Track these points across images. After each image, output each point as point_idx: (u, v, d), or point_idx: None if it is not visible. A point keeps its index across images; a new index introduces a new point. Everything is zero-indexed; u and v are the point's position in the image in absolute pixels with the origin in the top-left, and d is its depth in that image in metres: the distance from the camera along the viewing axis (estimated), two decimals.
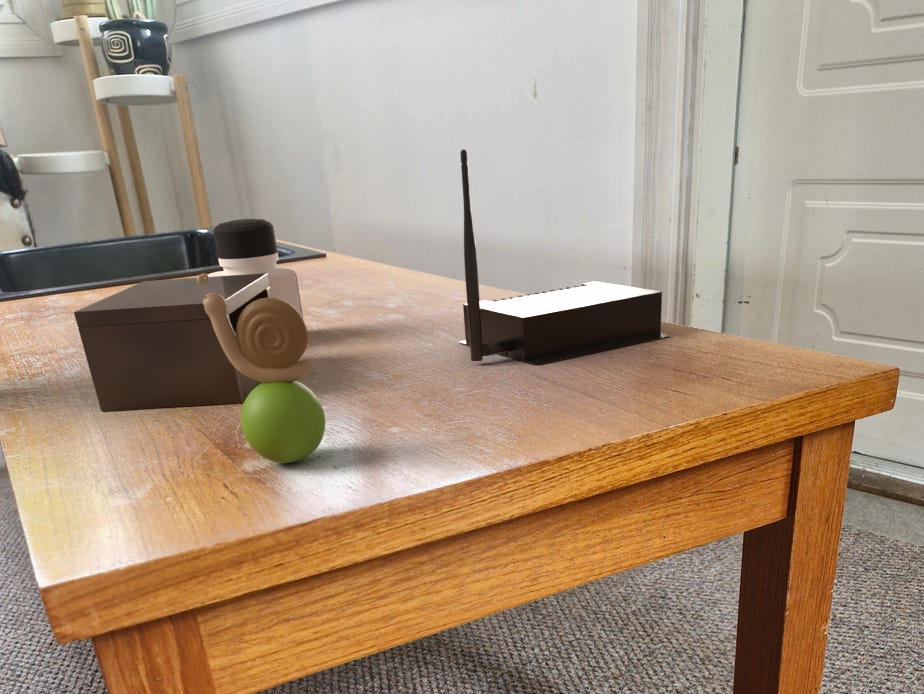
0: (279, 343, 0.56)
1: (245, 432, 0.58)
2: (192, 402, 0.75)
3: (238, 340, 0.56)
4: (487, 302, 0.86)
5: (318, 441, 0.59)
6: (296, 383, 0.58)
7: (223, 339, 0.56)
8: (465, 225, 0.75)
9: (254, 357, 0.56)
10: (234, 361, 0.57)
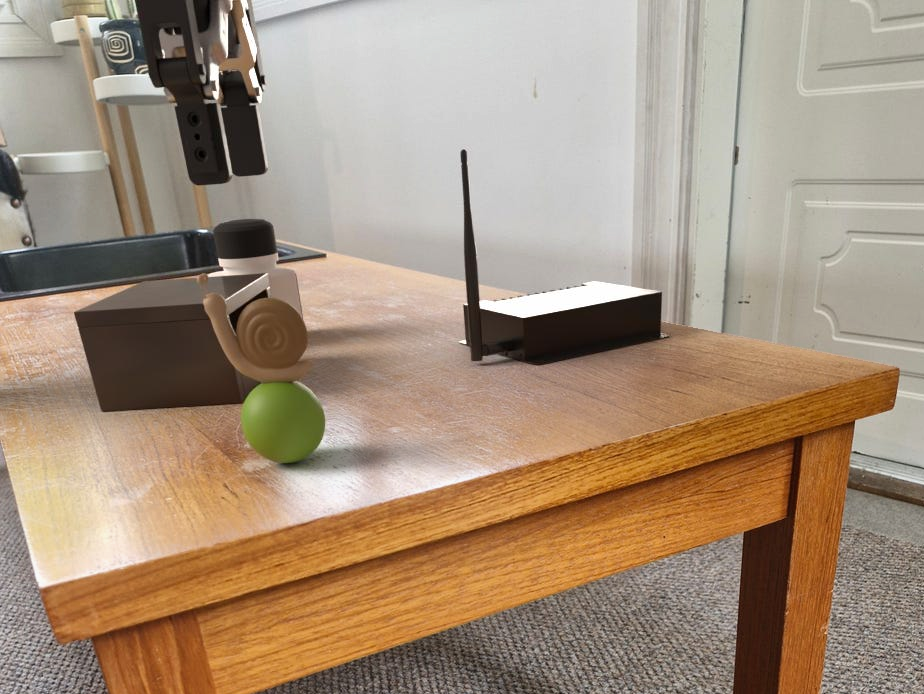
0: (279, 343, 0.56)
1: (245, 432, 0.58)
2: (192, 402, 0.75)
3: (238, 340, 0.56)
4: (487, 302, 0.86)
5: (318, 441, 0.59)
6: (296, 383, 0.58)
7: (223, 339, 0.56)
8: (465, 225, 0.75)
9: (254, 357, 0.56)
10: (234, 361, 0.57)
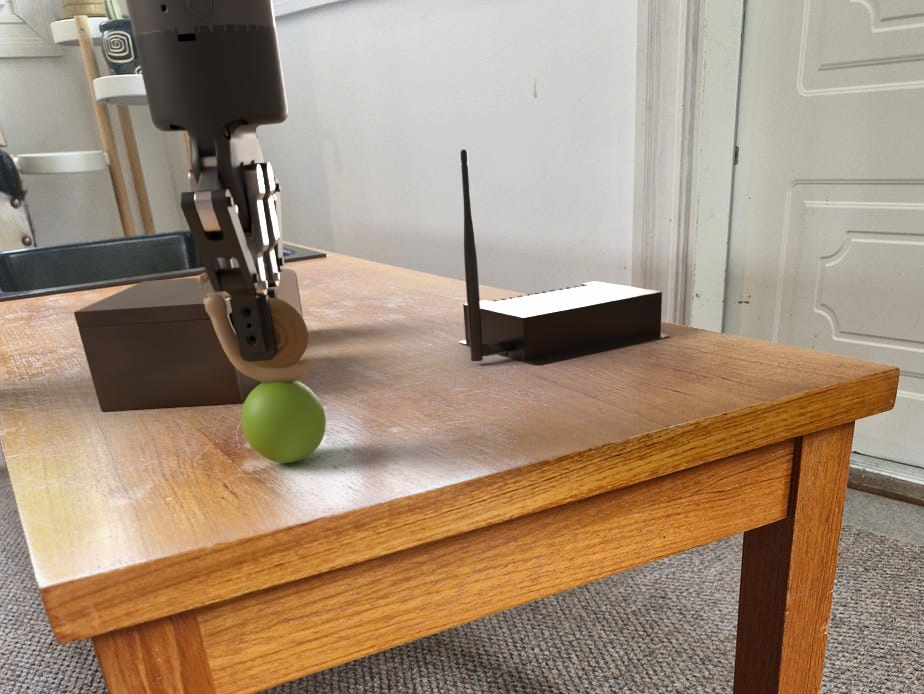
0: (279, 343, 0.56)
1: (245, 432, 0.58)
2: (192, 402, 0.75)
3: None
4: (487, 302, 0.86)
5: (318, 441, 0.59)
6: (296, 383, 0.58)
7: (224, 339, 0.56)
8: (465, 225, 0.75)
9: None
10: (235, 361, 0.57)
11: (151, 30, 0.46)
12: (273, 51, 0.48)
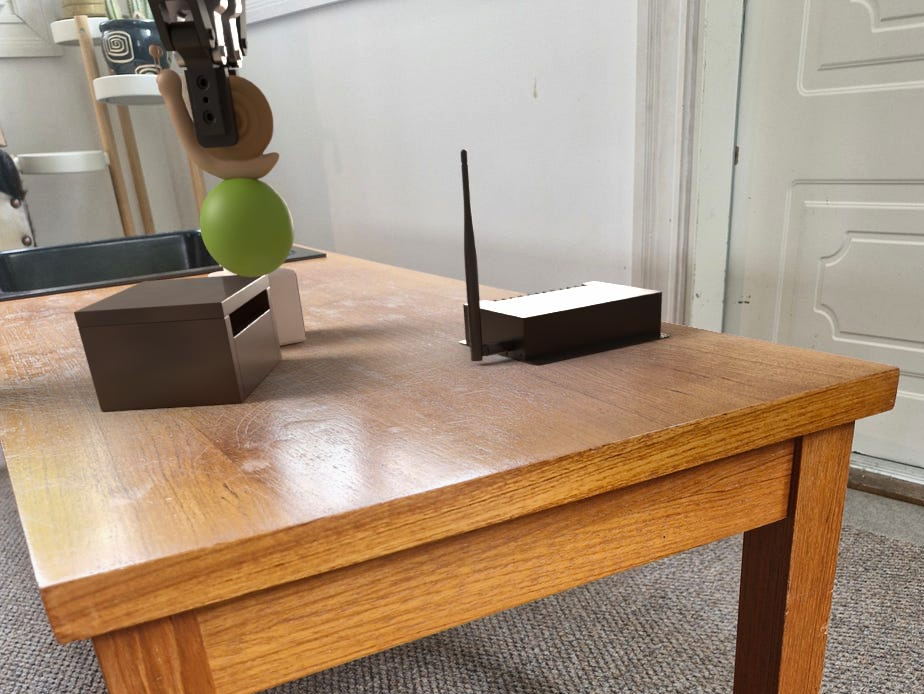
0: (241, 128, 0.50)
1: (204, 235, 0.52)
2: (192, 402, 0.75)
3: None
4: (487, 302, 0.86)
5: (286, 250, 0.53)
6: (261, 181, 0.52)
7: (179, 124, 0.50)
8: (465, 225, 0.75)
9: None
10: (192, 151, 0.51)
11: None
12: None
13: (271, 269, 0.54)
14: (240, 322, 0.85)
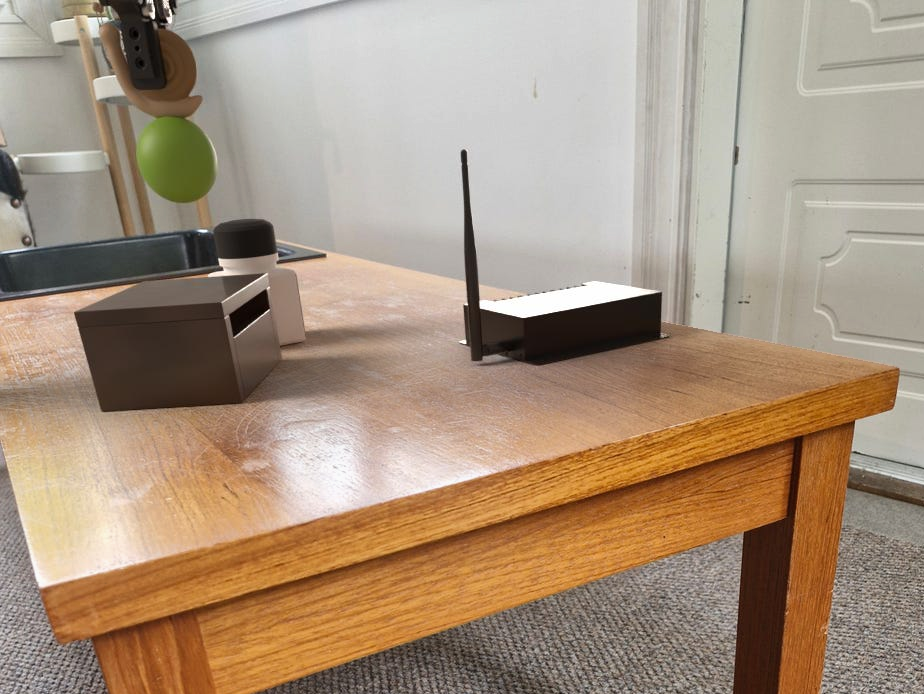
0: (169, 73, 0.60)
1: (139, 164, 0.62)
2: (192, 402, 0.75)
3: None
4: (487, 302, 0.86)
5: (209, 179, 0.63)
6: (188, 120, 0.62)
7: (118, 69, 0.60)
8: (465, 225, 0.75)
9: None
10: (129, 93, 0.61)
11: None
12: None
13: (197, 196, 0.63)
14: (240, 322, 0.85)
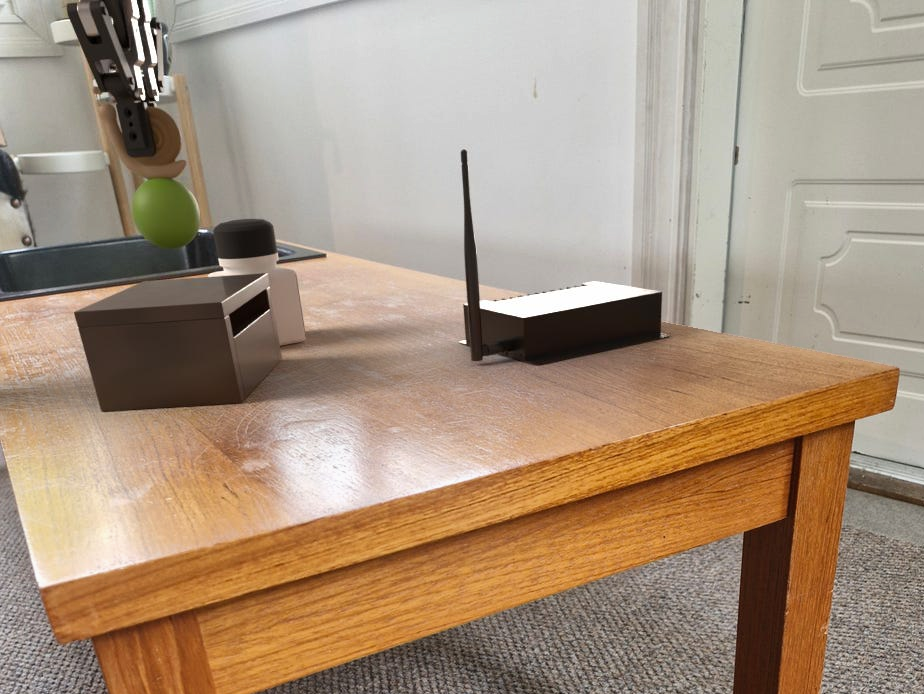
0: (158, 143, 0.72)
1: (134, 218, 0.73)
2: (192, 402, 0.75)
3: None
4: (487, 302, 0.86)
5: (193, 229, 0.75)
6: (174, 180, 0.74)
7: (115, 140, 0.72)
8: (465, 225, 0.75)
9: None
10: (124, 159, 0.72)
11: None
12: None
13: (183, 243, 0.75)
14: (240, 322, 0.85)
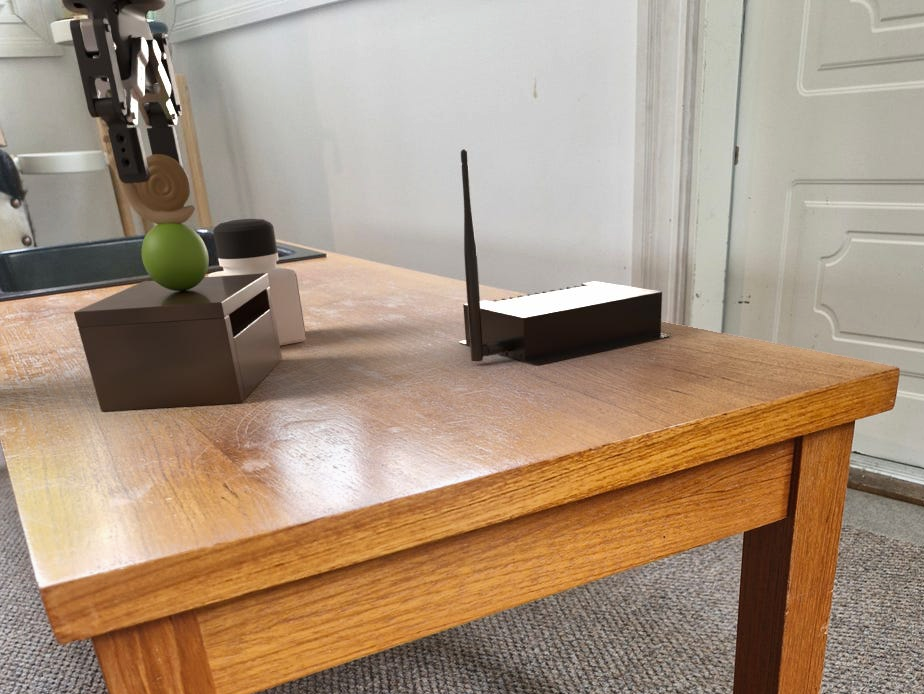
0: (167, 190, 0.73)
1: (144, 262, 0.75)
2: (192, 402, 0.75)
3: (136, 188, 0.73)
4: (487, 302, 0.86)
5: (202, 272, 0.76)
6: (183, 225, 0.75)
7: (125, 187, 0.73)
8: (465, 225, 0.75)
9: (149, 202, 0.74)
10: (134, 205, 0.74)
11: None
12: None
13: (192, 285, 0.77)
14: (240, 322, 0.85)
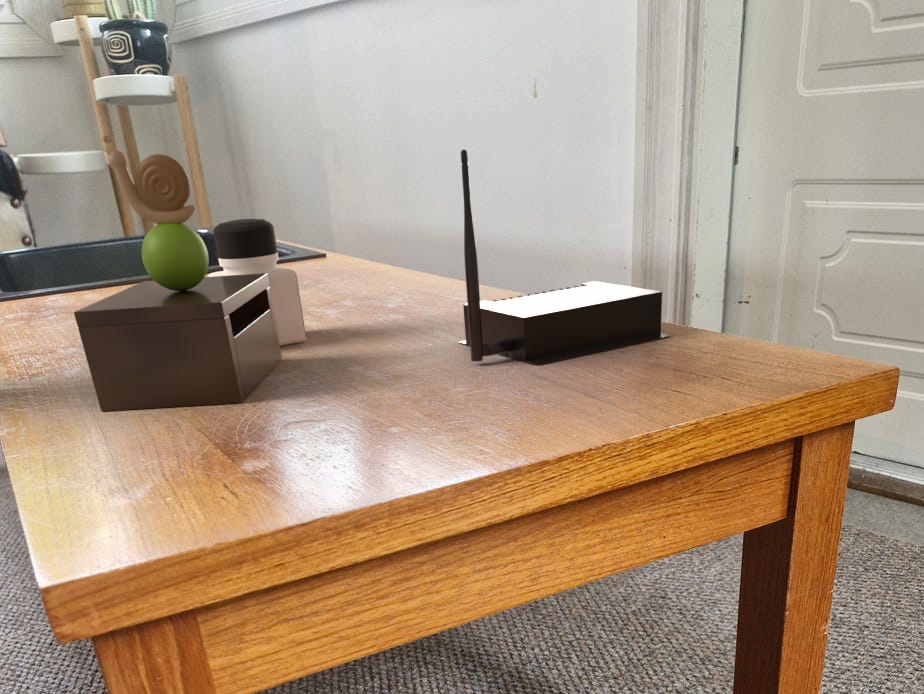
0: (167, 190, 0.73)
1: (144, 262, 0.75)
2: (192, 402, 0.75)
3: (136, 188, 0.73)
4: (487, 302, 0.86)
5: (202, 272, 0.76)
6: (183, 225, 0.75)
7: (125, 187, 0.73)
8: (465, 225, 0.75)
9: (149, 202, 0.74)
10: (134, 205, 0.74)
11: None
12: None
13: (192, 285, 0.77)
14: (240, 322, 0.85)
